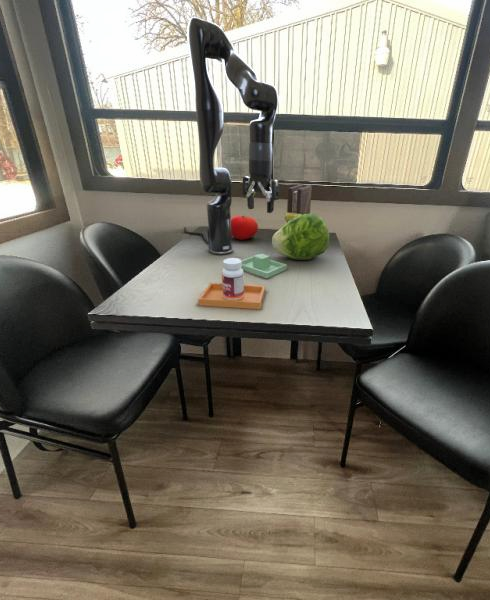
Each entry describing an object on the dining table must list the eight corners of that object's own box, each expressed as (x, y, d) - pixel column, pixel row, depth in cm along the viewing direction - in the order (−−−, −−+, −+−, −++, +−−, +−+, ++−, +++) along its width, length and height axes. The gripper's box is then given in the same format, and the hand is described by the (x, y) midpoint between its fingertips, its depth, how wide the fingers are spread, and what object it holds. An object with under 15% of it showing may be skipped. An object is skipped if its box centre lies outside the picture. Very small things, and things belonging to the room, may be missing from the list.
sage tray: (235, 267, 111) (234, 262, 110) (255, 260, 120) (255, 255, 119) (267, 278, 103) (267, 273, 102) (286, 269, 112) (286, 264, 111)
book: (296, 233, 160) (298, 184, 149) (311, 235, 157) (315, 185, 146) (281, 244, 141) (283, 188, 130) (298, 246, 139) (301, 190, 127)
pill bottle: (219, 296, 88) (216, 260, 83) (234, 290, 93) (233, 255, 87) (232, 303, 85) (230, 266, 80) (248, 296, 89) (247, 260, 84)
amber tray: (198, 305, 84) (198, 299, 83) (210, 288, 94) (210, 282, 93) (260, 309, 83) (260, 303, 82) (265, 291, 94) (265, 285, 93)
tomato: (233, 234, 153) (233, 212, 147) (259, 236, 151) (259, 213, 146) (226, 241, 142) (224, 216, 137) (254, 243, 140) (253, 218, 135)
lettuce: (275, 250, 134) (268, 211, 122) (326, 243, 133) (324, 203, 121) (275, 273, 119) (268, 231, 108) (333, 265, 118) (332, 222, 107)
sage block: (252, 267, 111) (252, 256, 109) (260, 264, 114) (260, 253, 112) (261, 270, 108) (261, 258, 106) (269, 267, 112) (269, 255, 110)
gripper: (285, 160, 93) (283, 212, 101) (251, 157, 100) (252, 206, 108) (270, 160, 88) (269, 215, 95) (236, 157, 95) (237, 209, 102)
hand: (260, 210), depth 102 cm, fingers open, 8 cm apart
